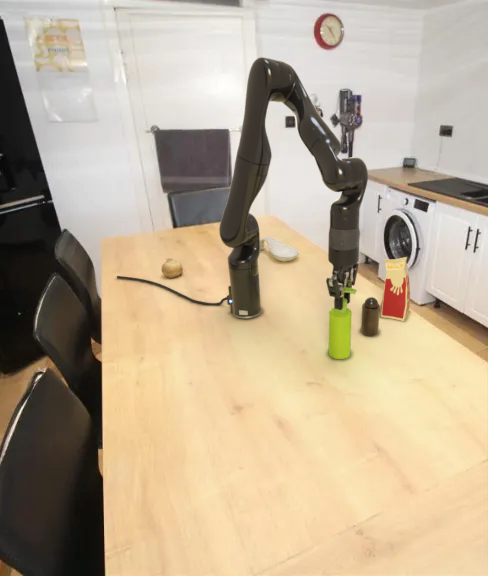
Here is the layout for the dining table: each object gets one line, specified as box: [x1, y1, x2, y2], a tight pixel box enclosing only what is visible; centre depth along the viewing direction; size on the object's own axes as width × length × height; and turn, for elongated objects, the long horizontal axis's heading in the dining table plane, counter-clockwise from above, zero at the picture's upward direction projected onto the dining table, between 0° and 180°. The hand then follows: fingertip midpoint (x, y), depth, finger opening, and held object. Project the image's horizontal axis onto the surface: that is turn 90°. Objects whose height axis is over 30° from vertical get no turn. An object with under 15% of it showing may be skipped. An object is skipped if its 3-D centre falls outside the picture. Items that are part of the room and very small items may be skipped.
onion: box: [160, 258, 183, 279], centre depth 161 cm, size 8×8×7 cm
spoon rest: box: [260, 236, 300, 263], centre depth 181 cm, size 24×12×7 cm, turn 48°
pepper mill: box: [360, 296, 381, 337], centre depth 122 cm, size 5×5×12 cm
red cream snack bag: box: [379, 256, 411, 322], centre depth 131 cm, size 9×9×20 cm
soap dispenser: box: [328, 287, 357, 360], centre depth 109 cm, size 6×7×20 cm
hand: (342, 305), depth 107 cm, fingers closed on soap dispenser, 3 cm apart
